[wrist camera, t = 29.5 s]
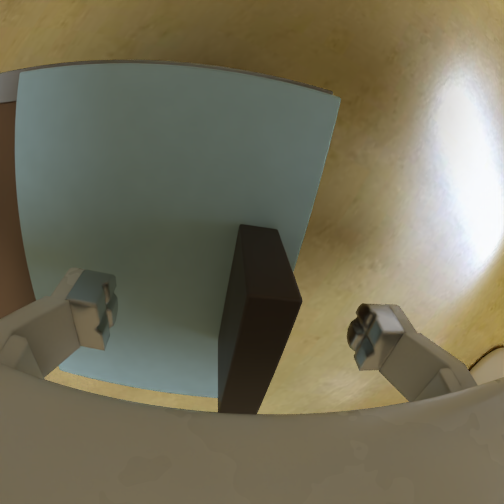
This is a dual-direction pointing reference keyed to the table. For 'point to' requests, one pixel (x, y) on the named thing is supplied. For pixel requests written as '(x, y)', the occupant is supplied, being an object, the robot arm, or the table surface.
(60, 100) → the sliding box lid
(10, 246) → the sliding lid box
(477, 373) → the cup
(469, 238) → the table surface
